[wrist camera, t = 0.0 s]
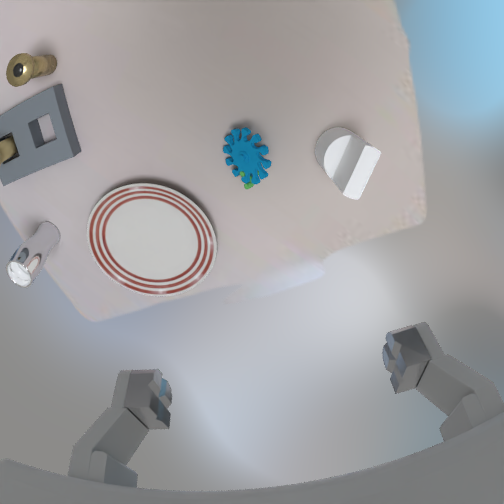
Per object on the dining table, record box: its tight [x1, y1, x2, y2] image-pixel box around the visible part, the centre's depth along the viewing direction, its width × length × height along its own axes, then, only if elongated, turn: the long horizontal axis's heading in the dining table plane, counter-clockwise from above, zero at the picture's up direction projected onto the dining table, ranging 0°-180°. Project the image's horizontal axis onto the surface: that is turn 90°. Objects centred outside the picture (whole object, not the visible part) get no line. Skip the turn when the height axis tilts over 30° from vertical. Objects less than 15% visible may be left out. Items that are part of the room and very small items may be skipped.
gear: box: [223, 127, 271, 189], centre depth 52 cm, size 11×6×10 cm
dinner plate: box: [87, 183, 217, 297], centre depth 62 cm, size 28×27×3 cm
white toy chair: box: [315, 127, 381, 200], centre depth 50 cm, size 9×9×12 cm
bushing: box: [6, 53, 57, 87], centre depth 36 cm, size 6×6×10 cm
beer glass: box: [6, 222, 60, 288], centre depth 53 cm, size 7×7×15 cm
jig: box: [0, 84, 81, 186], centre depth 43 cm, size 20×14×10 cm
